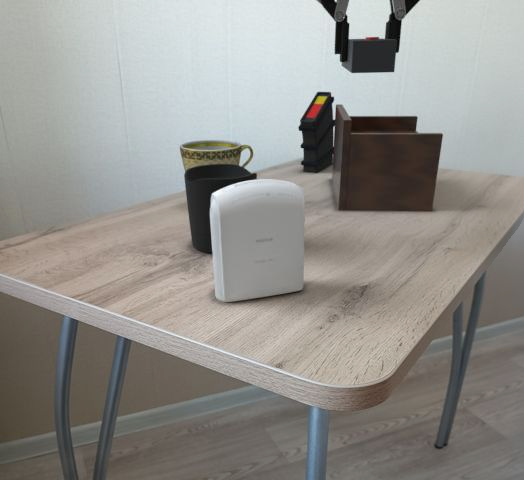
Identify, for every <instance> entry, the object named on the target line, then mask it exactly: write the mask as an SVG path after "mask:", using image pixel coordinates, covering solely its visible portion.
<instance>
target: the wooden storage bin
mask: <svg viewBox="0 0 524 480" xmlns="http://www.w3.org/2000/svg"><path fill="white" fill-rule="evenodd" d="M334 120H335V126H334V130H333V147H334V149H333V163H332V169H331V171H332V172H331V182H332V187H333V193H334V197H335V201H336V202H335V203H336V206H337V211H341V212H342V211H343V212H345V211H348V212H349V211H351V212H354V211H355V212H432V211H433V206H434V199H435V191H436V187H437V186H436V185H437V179H438V171H439V167H440V166H439V165H440V159H441V153H442V152H441V150H442V143H443V138H444V134H443V132H418V131H417V127H418V125H417V124H418V116H417V115H349V113H348V111H347V110H346V108H345V107H344V105H343V104H341V103H340V104H335V115H334Z"/></svg>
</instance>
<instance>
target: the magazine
mask: <svg viewBox="0 0 524 480" xmlns="http://www.w3.org/2000/svg"><path fill="white" fill-rule="evenodd" d="M334 102H335V96H332V92H331V91H317V92H316V93H315V95H314V96H313V98H312V100H311V102H310V104H309V105H308V107H307V108H306V110H305V111H304V113H303V114H302V116H301V118H300V119H299V122H300V123H299V125H298V126H297V127H298V128H297V129H298V131H299V132H301V135H302V143H301V144H300V149H303V151H302V152H303V160H302V161H300V166H303V167H302V169H303V173H311V174H313V173H314V174H317V173H319V172H321V171H322V170H324V169H326V168H328V167H330V166H332V165H333V149H334V128H335V119H334V109H333V103H334Z"/></svg>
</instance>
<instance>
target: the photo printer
mask: <svg viewBox="0 0 524 480" xmlns="http://www.w3.org/2000/svg"><path fill="white" fill-rule="evenodd" d="M305 202H306V201H305V195H304V191H303V188H302V187H301V186H299V185H298V184H296V183H293V182H290V181H286V180H282V179H274V178H271V179H270V178H259V179H258V178H257V180H248V181H243V182H239V183H235V184H232V185H229V186H227V187H224V188H222V189H220V190H218V191H216V192H214V193H212V195H211V207H210V225H211V240H212V254H211V255H212V267H213V281H214V294H215V298H216V299H217V300H218V301H220V302H222V303H223V302H224V303H233V302H240V301H247V300H253V299H260V298H266V297H272V296H277V295H278V296H279V295H284V294H289V293H294V292H299V291H301V290H303V288H304V282H305V281H304V280H305V232H306V231H305V228H306V227H305V225H306V224H305V223H306V203H305Z"/></svg>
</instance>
